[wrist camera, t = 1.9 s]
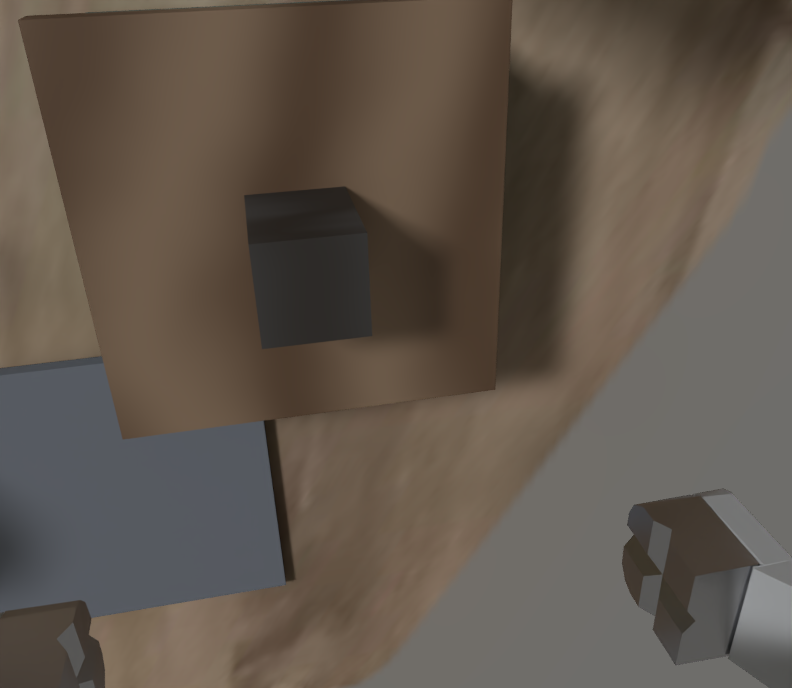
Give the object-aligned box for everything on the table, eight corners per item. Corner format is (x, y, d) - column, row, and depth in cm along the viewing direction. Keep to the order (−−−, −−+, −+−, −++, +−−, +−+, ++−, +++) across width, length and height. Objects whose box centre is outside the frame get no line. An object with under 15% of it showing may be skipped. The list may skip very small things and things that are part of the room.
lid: (501, -7, 22) (568, 10, 18) (487, 375, 28) (534, 455, 24) (26, 15, 20) (-27, 41, 16) (126, 422, 26) (107, 520, 22)
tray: (252, 338, 32) (253, 345, 32) (285, 576, 39) (285, 584, 39) (-104, 380, 30) (-110, 388, 30) (-4, 624, 37) (-7, 634, 36)
